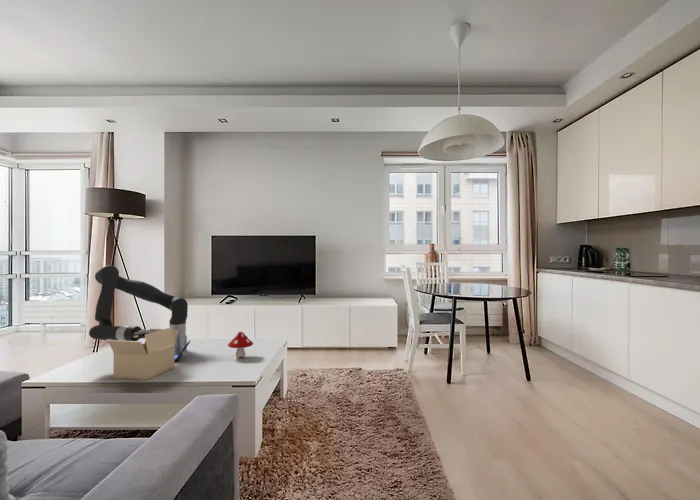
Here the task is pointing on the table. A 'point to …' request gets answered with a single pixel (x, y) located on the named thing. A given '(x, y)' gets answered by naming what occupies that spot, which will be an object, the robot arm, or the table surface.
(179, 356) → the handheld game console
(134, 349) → the carton
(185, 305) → the robot arm
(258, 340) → the table surface
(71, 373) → the table surface
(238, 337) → the decorative mushroom
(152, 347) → the near flap
